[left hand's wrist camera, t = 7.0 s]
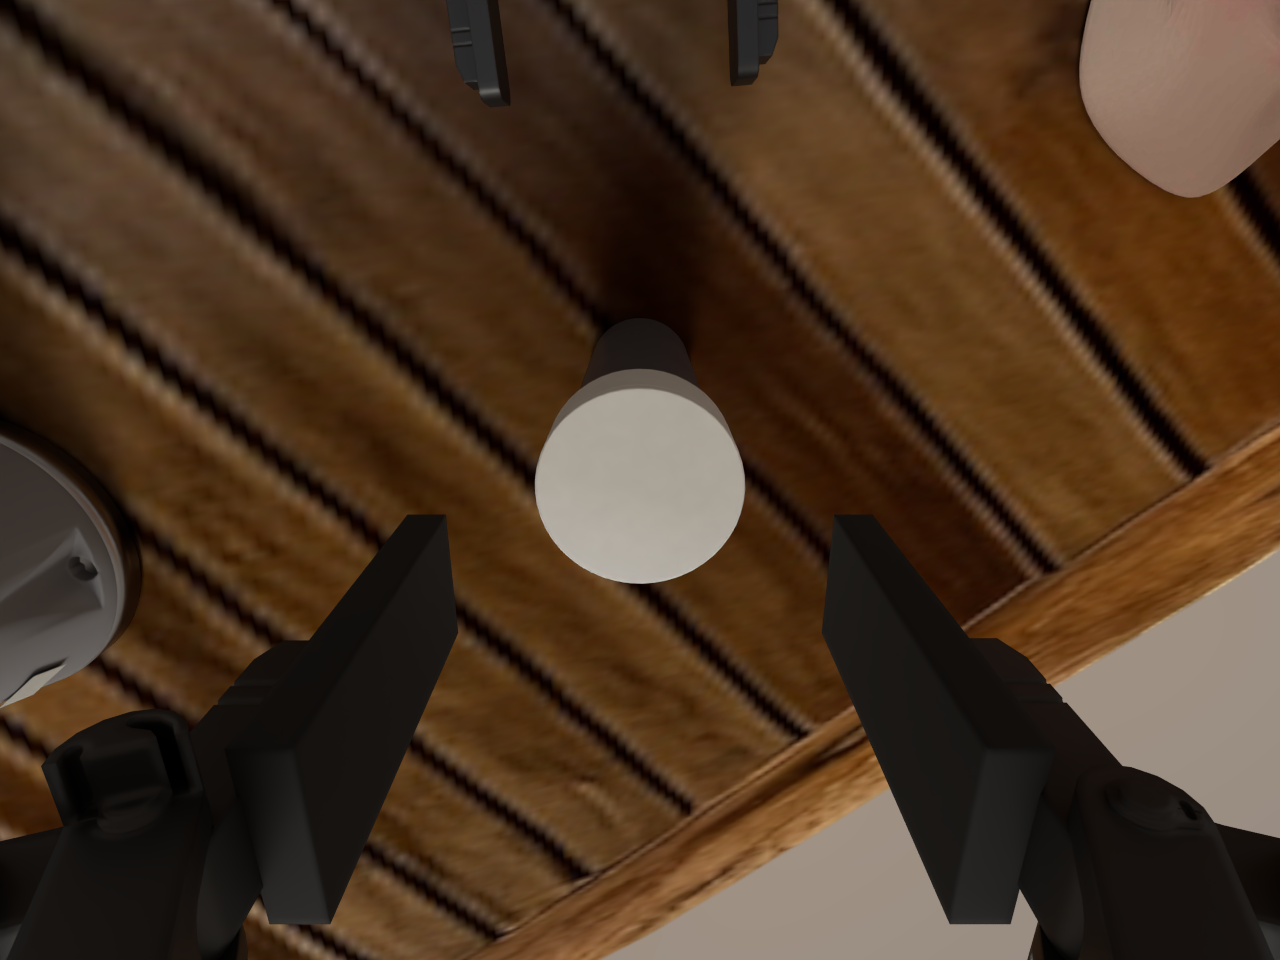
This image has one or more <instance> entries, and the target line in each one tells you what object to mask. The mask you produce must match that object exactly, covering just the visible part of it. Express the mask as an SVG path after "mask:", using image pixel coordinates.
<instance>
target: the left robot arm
mask: <svg viewBox="0 0 1280 960" xmlns="http://www.w3.org/2000/svg"><path fill="white" fill-rule="evenodd" d="M140 587H141V571H140V564H139V558H138V554H137V550H136V546H135V543H134V540H133V537H132V535H131V532H130V530H129V528H128V526H127V524H126V522H125V520H124V518H123V516H122V515H121V513H120V511H119V509H118V508H117V506H116V505H115V504H114V502H113V501H112V499H111V498H110V496H109V495H108V494H107V493H106V491H105V490H104V489H103V488H102V487H101V485H100V484H99V483H98V482H97V481H96V480H95V479H94V478H93V477H92V476H91V475H90V474H89V473H88V472H87V471H86V470H85V469H84V468H83V467H82V466H81V465H79V464H78V463H77V462H76V461H75V460H74V459H72V458H71V457H70V456H68V455H67V454H66V453H64V452H63V451H62V450H60V449H59V448H57V447H56V446H54V445H53V444H51V443H50V442H48V441H46V440H44V439H43V438H41V437H39V436H37V435H36V434H34V433H31V432H29V431H27V430H25V429H23V428H21V427H19V426H16V425H13V424H11V423H8V422H5V421H3V420H0V703H1V702H4V701H7V700H8V701H7V702H6V703H5V704H4V705H2V706H1V707H3V706H6V705H8V704H11V703H13V702H16V701H18V700H21V699H23V698H26V697H28V696H31V695H33V694H34V693H36V692H37V691H38V690H39V689H40V688H41V687H43V686H46V685H49V684H51V683H54V682H56V681H59V680H62V679H64V678H66V677H68V676H71V675H73V674H75V673H76V672H78V671H79V670H81V669H82V668H84V667H85V666H86V665H88V664H89V663H90V662H91V661H93V660H94V659H95V658H96V657H98V656H99V655H100V654H101V653H103V652H104V651H105V650H106V649H108V648H109V647H110V646H111V645H112V644H114V643H115V642H116V641H117V640H118V639H119V637H120V636H121V635H122V634H123V633H124V631H125V630H126V629H127V627H128V626H129V624H130V622H131V620H132V618H133V616H134V614H135V611H136V608H137V605H138V601H139V596H140ZM457 634H458V627H457V617H456V608H455V598H454V589H453V579H452V570H451V561H450V551H449V542H448V532H447V523H446V515H407V516H406V517H405V519H404V520H403V521H402V523H401V524H400V525H399V526H398V528H397V529H396V530H395V531H394V533H393V534H392V535H391V537H390V538H389V539H388V540H387V542H386V543H385V544H384V545H383V547H382V548H381V549H380V551H379V552H378V553H377V554H376V556H375V557H374V558H373V560H372V561H371V562H370V563H369V565H368V566H367V567H366V568H365V570H364V571H363V572H362V574H361V575H360V576H359V577H358V579H357V580H356V581H355V582H354V584H353V585H352V586H351V588H350V589H349V590H348V591H347V593H346V594H345V595H344V596H343V598H342V599H341V600H340V602H339V603H338V604H337V605H336V607H335V608H334V609H333V611H332V612H331V613H330V614H329V616H328V617H327V618H326V619H325V621H324V622H323V623H322V625H321V626H320V627H319V628H318V630H317V631H316V632H315V633H314V635H313V636H312V637H311V639H310V640H309V641H282V642H280V643H279V644H277V645H276V646H274V647H273V648H271V649H270V650H268V651H266V652H265V653H263V654H262V655H260V656H259V657H257V658H256V659H254V660H253V661H252V662H251V663H250V665H249V666H248V667H247V668H246V669H245V670H244V671H243V673H242V674H241V675H240V676H239V677H238V678H237V679H236V681H235V684H234V686H230V687H229V689H228V690H227V691H226V692H225V693H224V694H223V695H222V697H221V698H220V699H219V700H218V705H214V706H213V707H212V708H211V709H210V710H209V711H208V713H207V714H206V715H205V716H204V717H203V718H202V719H201V721H200V722H199V723H198V724H197V725H196V726H195V727H194V729H193V730H192V731H191V732H190V733H189V729H188V725H187V722H186V719H184V718H183V717H182V716H180V715H179V714H178V713H176V712H175V711H168V710H161V709H149V710H141V711H132V712H128V713H125V714H122V715H119V716H115V717H112V718H109V719H105V720H103V721H101V722H99V723H97V724H95V725H93V726H91V727H88V728H86V729H84V730H82V731H80V732H78V733H77V734H75V735H74V736H72V737H71V738H70V739H68V740H67V741H66V742H64V743H63V744H61V745H60V746H59V747H57V748H56V749H55V750H54V751H53V752H52V753H51V755H50V756H49V757H48V758H47V760H46V761H45V762H44V763H43V765H42V766H41V767H42V770H43V772H44V775H45V778H46V780H47V783H48V786H49V788H50V791H51V794H52V796H53V799H54V802H55V804H56V807H57V810H58V812H59V815H60V817H61V820H62V823H63V825H64V826H63V827H60V828H56V829H52V830H48V831H43V832H39V833H35V834H30V835H26V836H22V837H17V838H13V839H9V840H4V841H0V960H247V957H248V947H247V940H246V934H245V931H244V927H243V922H244V920H245V918H246V917H247V915H248V913H249V911H250V910H251V908H252V906H253V904H254V902H255V901H256V899H257V897H258V895H259V894H260V892H261V893H262V897H263V901H264V905H265V909H266V913H267V916H268V920H269V924H330V923H331V921H332V919H333V917H334V914H335V912H336V910H337V907H338V905H339V903H340V901H341V898H342V896H343V894H344V892H345V889H346V887H347V885H348V882H349V880H350V878H351V876H352V873H353V871H354V869H355V866H356V864H357V862H358V860H359V857H360V855H361V853H362V851H363V848H364V846H365V844H366V841H367V839H368V837H369V835H370V832H371V830H372V828H373V825H374V823H375V821H376V819H377V816H378V814H379V812H380V810H381V807H382V805H383V803H384V800H385V798H386V796H387V794H388V791H389V789H390V787H391V784H392V782H393V780H394V778H395V775H396V773H397V771H398V769H399V766H400V764H401V762H402V759H403V757H404V755H405V753H406V750H407V748H408V746H409V743H410V741H411V739H412V737H413V734H414V732H415V730H416V727H417V725H418V723H419V721H420V718H421V716H422V714H423V712H424V709H425V707H426V705H427V702H428V700H429V698H430V696H431V693H432V691H433V689H434V686H435V684H436V682H437V680H438V677H439V675H440V673H441V671H442V668H443V666H444V664H445V661H446V659H447V657H448V655H449V652H450V650H451V648H452V645H453V643H454V641H455V639H456V636H457ZM822 634H823V636H824V639H825V641H826V643H827V645H828V648H829V650H830V652H831V655H832V657H833V659H834V661H835V664H836V666H837V668H838V671H839V673H840V675H841V677H842V680H843V682H844V684H845V687H846V689H847V691H848V693H849V696H850V698H851V700H852V702H853V705H854V707H855V709H856V712H857V714H858V716H859V718H860V721H861V723H862V725H863V728H864V730H865V732H866V734H867V737H868V739H869V741H870V743H871V746H872V748H873V750H874V753H875V755H876V757H877V759H878V762H879V764H880V766H881V769H882V771H883V773H884V775H885V778H886V780H887V782H888V784H889V787H890V789H891V791H892V794H893V796H894V798H895V800H896V803H897V805H898V807H899V810H900V812H901V814H902V816H903V819H904V821H905V823H906V825H907V828H908V830H909V832H910V835H911V837H912V839H913V841H914V844H915V846H916V848H917V851H918V853H919V855H920V857H921V860H922V862H923V864H924V866H925V869H926V871H927V873H928V876H929V878H930V880H931V882H932V885H933V887H934V889H935V892H936V894H937V896H938V898H939V901H940V903H941V905H942V907H943V910H944V912H945V914H946V917H947V919H948V921H949V923H950V924H1011V920H1012V916H1013V913H1014V909H1015V905H1016V901H1017V897H1018V893H1019V889H1020V890H1021V892H1022V894H1023V895H1024V897H1025V899H1026V901H1027V902H1028V904H1029V906H1030V908H1031V909H1032V911H1033V913H1034V915H1035V917H1036V918H1037V920H1038V923H1037V927H1036V931H1035V934H1034V938H1033V942H1032V945H1031V949H1030V952H1029V956H1028V960H1280V838H1276V837H1272V836H1268V835H1263V834H1259V833H1255V832H1250V831H1246V830H1242V829H1237V828H1233V827H1229V826H1224V825H1221V824H1217V823H1214V822H1213V820H1212V819H1211V817H1210V816H1209V814H1208V813H1207V812H1206V810H1205V809H1204V807H1203V806H1201V805H1200V804H1199V803H1198V802H1196V801H1195V800H1194V799H1193V798H1192V797H1191V796H1189V795H1188V794H1187V793H1186V792H1184V791H1183V790H1182V789H1180V788H1178V787H1176V786H1174V785H1173V784H1171V783H1169V782H1167V781H1165V780H1164V779H1162V778H1160V777H1158V776H1155V775H1153V774H1150V773H1147V772H1144V771H1141V770H1138V769H1135V768H1132V767H1125V766H1122V765H1121V764H1120V763H1119V762H1118V760H1117V759H1116V758H1115V757H1114V756H1113V755H1112V754H1111V753H1110V751H1109V750H1108V749H1107V748H1106V747H1105V746H1104V745H1103V744H1102V742H1101V741H1100V740H1099V739H1098V738H1097V737H1096V736H1095V734H1094V733H1093V732H1092V731H1091V730H1090V729H1089V728H1088V726H1087V725H1086V724H1085V723H1084V722H1083V721H1082V720H1081V719H1080V717H1079V716H1078V715H1077V714H1076V713H1075V712H1074V711H1073V709H1072V708H1071V707H1070V706H1069V705H1068V704H1067V703H1063V701H1062V697H1061V696H1060V695H1059V694H1058V692H1057V691H1056V690H1055V689H1054V688H1053V687H1052V686H1051V684H1047V683H1046V679H1045V678H1044V676H1043V675H1042V674H1041V673H1040V672H1039V671H1038V670H1037V669H1036V667H1035V666H1034V665H1033V664H1032V663H1031V662H1030V661H1029V659H1028V658H1027V657H1025V656H1024V655H1022V654H1021V653H1019V652H1018V651H1016V650H1014V649H1013V648H1011V647H1010V646H1008V645H1007V644H1005V643H1003V642H1002V641H1000V640H999V639H997V638H969V637H968V636H967V635H966V633H965V632H964V631H963V630H962V628H961V627H960V626H959V625H958V623H957V622H956V621H955V619H954V618H953V617H952V616H951V614H950V613H949V612H948V611H947V609H946V608H945V607H944V605H943V604H942V603H941V602H940V600H939V599H938V598H937V597H936V595H935V594H934V593H933V591H932V590H931V589H930V588H929V586H928V585H927V584H926V582H925V581H924V580H923V579H922V577H921V576H920V575H919V574H918V572H917V571H916V570H915V568H914V567H913V566H912V565H911V563H910V562H909V561H908V560H907V558H906V557H905V556H904V554H903V553H902V552H901V551H900V549H899V548H898V547H897V545H896V544H895V543H894V542H893V540H892V539H891V538H890V537H889V535H888V534H887V533H886V531H885V530H884V529H883V528H882V526H881V525H880V524H879V523H878V521H877V520H876V519H875V517H874V516H873V515H834V523H833V532H832V542H831V551H830V560H829V570H828V579H827V589H826V598H825V608H824V617H823V627H822ZM1 707H0V708H1Z"/></svg>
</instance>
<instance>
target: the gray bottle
mask: <svg viewBox="0 0 1280 960" xmlns="http://www.w3.org/2000/svg"><path fill="white" fill-rule="evenodd" d="M630 369H652V370H657V371H663V372H666V373H670V374H673V375H676V376H678V377H680V378H682V379H684V380H687V381H688V382H690V383H691V384H693V385H695V386H696V387H698V388H699V386H698V383H697V380H696V377H695V374H694V371H693V368H692V365H691V363H690V360H689V357H688V354H687V351H686V348H685V346H684V344H683V342H682V341H681V339H680V338H679V336H678V335H677V334H676V333H675V332H674V331H673V330H672V329H670V328H669V327H668V326H666V325H665V324H663V323H661V322H659V321H656V320H652V319H647V318H632V319H628V320H624V321H622V322H619V323H617V324H615V325H614V326H612V327H611V328H610V329H608V330H607V331H606V332H605V333H604V334H603V335H602V337H601V338H600V339H599V341H598V342H597V344H596V346H595V349H594V351H593V354H592V357H591V360H590V362H589V365H588V368H587V371H586V374H585V377H584V380H583V382H582V385H581V388H583V387H584V386H585V385H587V384H588V383H590V382H592V381H594V380H596V379H598V378H600V377H602V376H605V375H607V374H610V373H613V372H618V371H622V370H630ZM581 388H580V389H581ZM699 389H700V388H699Z"/></svg>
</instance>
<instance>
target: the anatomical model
mask: <svg viewBox="0 0 1280 960" xmlns="http://www.w3.org/2000/svg"><path fill="white" fill-rule="evenodd" d="M1079 79H1080V89H1081V95H1082V99H1083V102H1084V105H1085V108H1086V111H1087V113H1088V115H1089V117H1090V119H1091V121H1092V123H1093V125H1094V126H1095V127H1096V129H1097V130H1098V132H1099V133H1100V135H1101V136H1102V138H1103V139H1104V141H1105V142H1106V143H1107V144H1108V145H1109V146H1110V147H1111V148H1112V150H1113V151H1114V152H1115V153H1116V154H1117V155H1118V156H1119V157H1120V158H1121V159H1123V160H1124V161H1125V162H1126V163H1127V164H1128V165H1129V166H1130V167H1132V168H1133V169H1134V170H1135V171H1137V172H1138V173H1139V174H1141V175H1142V176H1143V177H1145V178H1146V179H1147V180H1149V181H1150V182H1152V183H1153V184H1155V185H1157V186H1158V187H1160V188H1162V189H1164V190H1165V191H1168V192H1170V193H1172V194H1175V195H1178V196H1183V197H1200V196H1203V195H1206V194H1209V193H1211V192H1214V191H1216V190H1217V189H1219V188H1221V187H1222V186H1224V185H1225V184H1227V183H1228V182H1229V181H1231V180H1232V179H1234V178H1235V177H1236V176H1238V175H1239V174H1240V173H1241V172H1242V171H1244V170H1245V169H1246V168H1247V167H1248V166H1250V165H1251V164H1252V163H1253V162H1254V161H1255V160H1257V159H1258V158H1259V157H1260V156H1261V155H1262V154H1263V153H1264V152H1266V151H1267V150H1268V149H1269V148H1270V147H1271V146H1272V145H1274V144H1275V143H1276V142H1277V141H1278V140H1279V139H1280V0H1091V3H1090V7H1089V11H1088V16H1087V20H1086V25H1085V30H1084V35H1083V40H1082V46H1081V54H1080V66H1079Z"/></svg>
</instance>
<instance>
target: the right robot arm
mask: <svg viewBox="0 0 1280 960" xmlns="http://www.w3.org/2000/svg"><path fill="white" fill-rule="evenodd" d="M446 2H447V9H448V16H449V22H450V29H451V35H452V42H453V49H454V55H455V62H456V67H457V69H458V71H459V72H460V74H461V76H462V78H463V80H464V82H465V83H466V84H467V85H468V86H470V87H471V88H472V89H474V90H477V89H479V93H480V96H481V99H482V101H483V102H484V103H485V104H487V105H488V106H489V107H499V106H510V90H509V83H508V75H507V67H506V59H505V52H504V44H503V36H502V29H501V21H500V13H499V5H498V0H446ZM728 29H729V60H730V81H731V86H740V85H751V84H752V83H753V82H754V81H755V80H756V78H757V77H758V72H759V64H766V62H767V61H768V60H769V59H770V57H771V56H772V55H773V51H774V48H775V45H776V42H777V39H778V0H728Z"/></svg>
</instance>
